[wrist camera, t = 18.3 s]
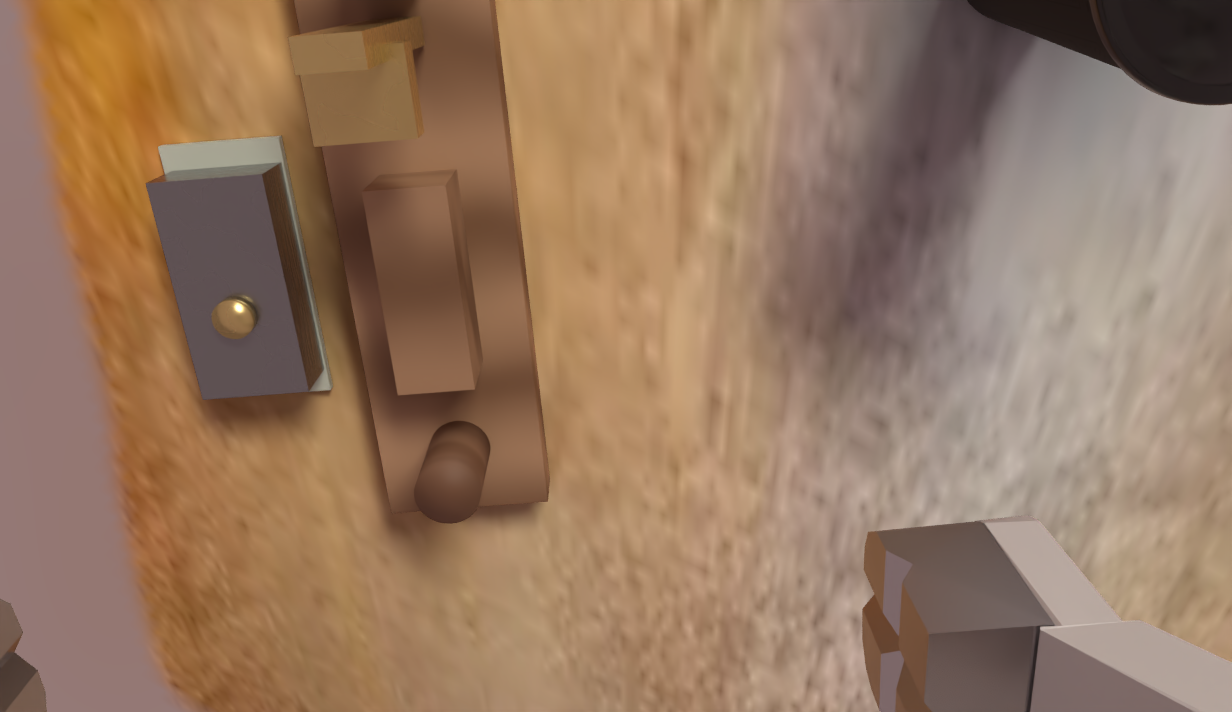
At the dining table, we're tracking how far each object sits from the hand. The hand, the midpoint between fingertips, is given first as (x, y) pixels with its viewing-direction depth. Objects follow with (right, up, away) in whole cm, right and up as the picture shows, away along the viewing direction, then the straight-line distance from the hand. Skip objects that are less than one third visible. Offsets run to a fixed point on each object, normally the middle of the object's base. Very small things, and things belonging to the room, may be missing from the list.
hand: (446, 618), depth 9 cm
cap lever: (-6, +13, +26) cm, 30 cm away
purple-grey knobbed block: (-14, +6, +30) cm, 34 cm away
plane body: (-6, +8, +30) cm, 32 cm away
